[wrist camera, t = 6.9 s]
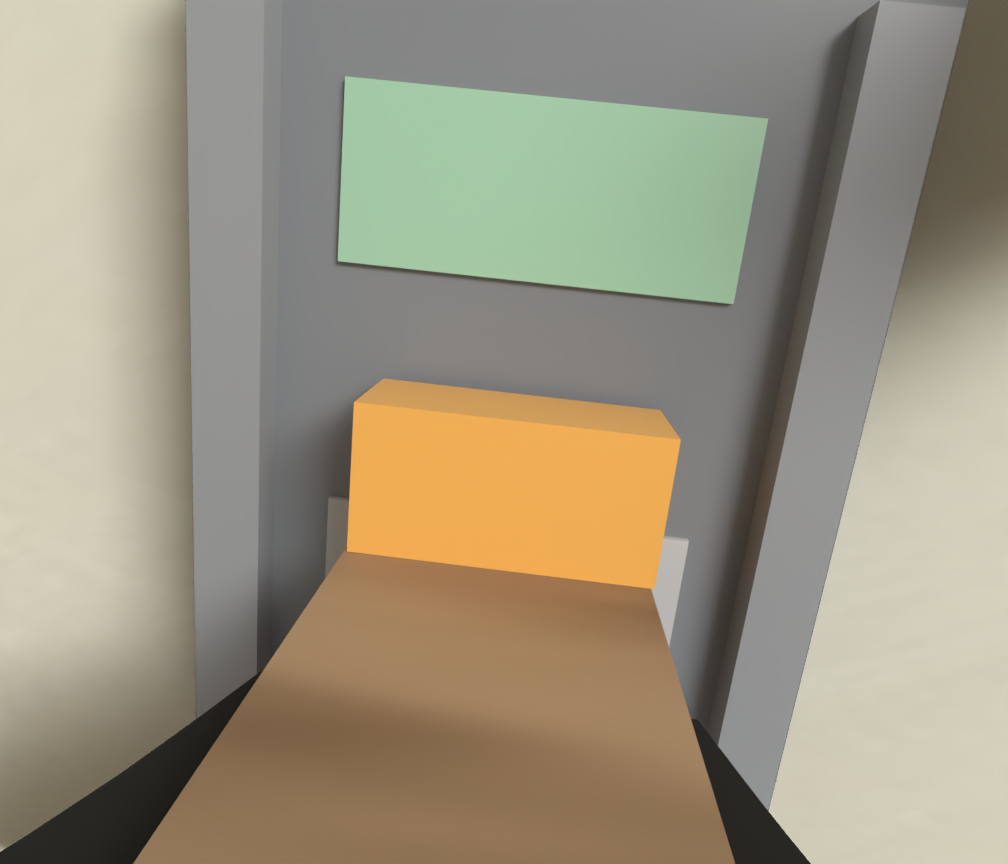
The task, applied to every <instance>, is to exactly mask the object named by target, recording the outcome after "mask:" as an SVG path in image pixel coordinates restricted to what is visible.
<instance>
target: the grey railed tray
mask: <svg viewBox="0 0 1008 864" xmlns="http://www.w3.org/2000/svg"><path fill="white" fill-rule="evenodd" d="M968 2H969V0H186V63H187V130H188V197H189V264H190V332H191V399H192V466H193V534H194V601H195V668H196V719H197V718H198V717H200V716H201V715H202V714H204V713H205V712H206V711H208V710H209V709H210V708H212V707H213V706H214V705H216V704H217V703H218V702H220V701H221V700H222V699H224V698H225V697H227V696H228V695H229V694H231V693H232V692H233V691H235V690H236V689H237V688H239V687H240V686H241V685H243V684H244V683H246V682H247V681H248V680H250V679H251V678H252V677H254V676H255V675H256V674H258V673H259V672H261V671H262V670H264V669H265V667H266V666H267V664H268V663H269V661H270V660H271V658H272V657H273V655H274V654H275V652H276V651H277V649H278V648H279V647H280V645H281V644H282V642H283V641H284V639H285V638H286V636H287V635H288V633H289V632H290V630H291V629H292V627H293V626H294V624H295V623H296V621H297V620H298V618H299V617H300V615H301V614H302V612H303V611H304V609H305V608H306V606H307V605H308V603H309V602H310V600H311V599H312V598H313V596H314V595H315V593H316V592H317V590H318V589H319V587H320V586H321V584H322V583H323V581H324V580H325V578H326V577H327V575H328V574H329V572H330V571H331V569H332V568H333V566H334V565H335V563H336V562H337V560H338V559H339V557H340V556H341V554H342V553H343V551H344V550H345V549H346V547H347V536H348V515H349V494H350V473H351V452H352V432H353V411H354V402H355V401H356V400H357V399H358V398H360V397H361V396H362V395H363V394H365V393H366V392H367V391H368V390H370V389H371V388H372V387H374V386H375V385H376V384H377V383H379V382H380V381H381V380H382V379H393V380H402V381H411V382H420V383H428V384H437V385H446V386H455V387H463V388H472V389H481V390H490V391H498V392H507V393H516V394H525V395H533V396H542V397H551V398H560V399H568V400H577V401H586V402H595V403H603V404H612V405H621V406H630V407H638V408H647V409H656V410H661V412H662V413H663V415H664V416H665V418H666V419H667V421H668V422H669V423H670V425H671V426H672V428H673V429H674V431H675V432H676V433H677V435H678V436H679V438H680V439H681V442H680V448H679V453H678V459H677V465H676V470H675V476H674V482H673V487H672V493H671V499H670V504H669V510H668V516H667V521H666V527H665V533H664V538H663V544H662V549H661V555H660V561H659V566H658V572H657V578H656V583H655V589H651V590H652V594H653V597H654V600H655V603H656V607H657V610H658V613H659V616H660V620H661V623H662V626H663V629H664V633H665V636H666V639H667V643H668V646H669V649H670V652H671V656H672V659H673V662H674V665H675V669H676V672H677V675H678V678H679V682H680V685H681V688H682V692H683V695H684V698H685V701H686V705H687V708H688V711H689V714H690V718H691V719H697V720H699V722H700V723H701V724H702V726H703V727H704V728H705V729H706V731H707V732H708V733H709V735H710V736H711V737H712V739H713V740H714V741H715V743H716V744H717V745H718V746H719V748H720V749H721V750H722V752H723V753H724V754H725V756H726V757H727V758H728V760H729V761H730V762H731V763H732V765H733V766H734V767H735V769H736V770H737V771H738V773H739V774H740V775H741V777H742V778H743V779H744V780H745V782H746V783H747V784H748V786H749V787H750V788H751V790H752V791H753V792H754V793H755V795H756V796H757V797H758V799H759V800H760V801H761V802H762V804H763V805H764V806H765V808H766V809H767V810H768V811H769V807H770V802H771V798H772V794H773V790H774V786H775V782H776V778H777V774H778V770H779V766H780V762H781V758H782V754H783V750H784V746H785V742H786V738H787V734H788V730H789V726H790V722H791V718H792V714H793V710H794V705H795V701H796V697H797V693H798V689H799V685H800V681H801V677H802V673H803V669H804V665H805V661H806V657H807V653H808V649H809V645H810V641H811V637H812V633H813V629H814V625H815V621H816V617H817V612H818V608H819V604H820V600H821V596H822V592H823V588H824V584H825V580H826V576H827V572H828V568H829V564H830V560H831V556H832V552H833V548H834V544H835V540H836V536H837V532H838V528H839V524H840V520H841V515H842V511H843V507H844V503H845V499H846V495H847V491H848V487H849V483H850V479H851V475H852V471H853V467H854V463H855V459H856V455H857V451H858V447H859V443H860V439H861V435H862V431H863V427H864V423H865V418H866V414H867V410H868V406H869V402H870V398H871V394H872V390H873V386H874V382H875V378H876V374H877V370H878V366H879V362H880V358H881V354H882V350H883V346H884V342H885V338H886V334H887V330H888V326H889V321H890V317H891V313H892V309H893V305H894V301H895V297H896V293H897V289H898V285H899V281H900V277H901V273H902V269H903V265H904V261H905V257H906V253H907V249H908V245H909V241H910V237H911V233H912V229H913V224H914V220H915V216H916V212H917V208H918V204H919V200H920V196H921V192H922V188H923V184H924V180H925V176H926V172H927V168H928V164H929V160H930V156H931V152H932V148H933V144H934V140H935V136H936V131H937V127H938V123H939V119H940V115H941V111H942V107H943V103H944V99H945V95H946V91H947V87H948V83H949V79H950V75H951V71H952V67H953V63H954V59H955V55H956V51H957V47H958V43H959V39H960V34H961V30H962V26H963V22H964V18H965V14H966V10H967V6H968Z"/></svg>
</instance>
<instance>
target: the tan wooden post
mask: <svg viewBox="0 0 1008 864" xmlns="http://www.w3.org/2000/svg"><path fill="white" fill-rule="evenodd" d="M133 864H735V861H734V858H733V855H732V852H731V848H730V845H729V842H728V839H727V835H726V832H725V829H724V826H723V822H722V819H721V816H720V812H719V809H718V806H717V803H716V799H715V796H714V793H713V790H712V786H711V783H710V780H709V776H708V773H707V770H706V767H705V763H704V760H703V757H702V754H701V750H700V747H699V744H698V741H697V737H696V734H695V731H694V727H693V724H692V721H691V718H690V714H689V711H688V708H687V705H686V701H685V698H684V695H683V692H682V688H681V685H680V682H679V678H678V675H677V672H676V669H675V665H674V662H673V659H672V656H671V652H670V649H669V646H668V643H667V639H666V636H665V633H664V629H663V626H662V623H661V620H660V616H659V613H658V610H657V607H656V603H655V600H654V597H653V594H652V590H651V589H649V588H641V587H633V586H624V585H616V584H608V583H600V582H592V581H584V580H575V579H567V578H559V577H551V576H543V575H535V574H526V573H518V572H510V571H502V570H494V569H486V568H477V567H469V566H461V565H453V564H445V563H437V562H428V561H420V560H412V559H404V558H396V557H388V556H379V555H371V554H363V553H355V552H347V547H346V549H345V550H344V551H343V553H342V554H341V556H340V557H339V559H338V560H337V562H336V563H335V565H334V566H333V568H332V569H331V571H330V572H329V574H328V575H327V577H326V578H325V580H324V581H323V583H322V584H321V586H320V587H319V589H318V590H317V592H316V593H315V595H314V596H313V598H312V599H311V600H310V602H309V603H308V605H307V606H306V608H305V609H304V611H303V612H302V614H301V615H300V617H299V618H298V620H297V621H296V623H295V624H294V626H293V627H292V629H291V630H290V632H289V633H288V635H287V636H286V638H285V639H284V641H283V642H282V644H281V645H280V647H279V648H278V649H277V651H276V652H275V654H274V655H273V657H272V658H271V660H270V661H269V663H268V664H267V666H266V667H265V669H264V670H263V672H262V673H261V675H260V676H259V678H258V679H257V681H256V682H255V684H254V685H253V687H252V688H251V690H250V691H249V693H248V694H247V696H246V697H245V698H244V700H243V701H242V703H241V704H240V706H239V707H238V709H237V710H236V712H235V713H234V715H233V716H232V718H231V719H230V721H229V722H228V724H227V725H226V727H225V728H224V730H223V731H222V733H221V734H220V736H219V737H218V739H217V740H216V742H215V743H214V745H213V746H212V747H211V749H210V750H209V752H208V753H207V755H206V756H205V758H204V759H203V761H202V762H201V764H200V765H199V767H198V768H197V770H196V771H195V773H194V774H193V776H192V777H191V779H190V780H189V782H188V783H187V785H186V786H185V788H184V789H183V791H182V792H181V794H180V795H179V796H178V798H177V799H176V801H175V802H174V804H173V805H172V807H171V808H170V810H169V811H168V813H167V814H166V816H165V817H164V819H163V820H162V822H161V823H160V825H159V826H158V828H157V829H156V831H155V832H154V834H153V835H152V837H151V838H150V840H149V841H148V842H147V844H146V845H145V847H144V848H143V850H142V851H141V853H140V854H139V856H138V857H137V859H136V860H135V862H134V863H133Z"/></svg>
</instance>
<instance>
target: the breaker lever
mask: <svg viewBox="0 0 1008 864" xmlns="http://www.w3.org/2000/svg"><path fill="white" fill-rule="evenodd" d="M680 442H681V439H680V438H679V436H678V435H677V433H676V432H675V431H674V429H673V428H672V426H671V425H670V423H669V422H668V421H667V419H666V418H665V416H664V415H663V413H662V412H661V410H656V409H647V408H638V407H630V406H621V405H612V404H603V403H595V402H586V401H577V400H568V399H560V398H551V397H542V396H533V395H525V394H516V393H507V392H498V391H490V390H481V389H472V388H463V387H455V386H446V385H437V384H428V383H420V382H411V381H402V380H393V379H382V380H381V381H380V382H379V383H377V384H376V385H375V386H374V387H372V388H371V389H370V390H368V391H367V392H366V393H365V394H363V395H362V396H361V397H360V398H358V399H357V400H356V401H355V402H354V411H353V432H352V452H351V473H350V494H349V515H348V536H347V552H355V553H363V554H371V555H379V556H388V557H396V558H404V559H412V560H420V561H428V562H437V563H445V564H453V565H461V566H469V567H477V568H486V569H494V570H502V571H510V572H518V573H526V574H535V575H543V576H551V577H559V578H567V579H575V580H584V581H592V582H600V583H608V584H616V585H624V586H633V587H641V588H649V589H655V583H656V578H657V572H658V566H659V561H660V555H661V549H662V544H663V538H664V533H665V527H666V521H667V516H668V510H669V504H670V499H671V493H672V487H673V482H674V476H675V470H676V465H677V459H678V453H679V448H680Z"/></svg>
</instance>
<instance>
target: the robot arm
mask: <svg viewBox="0 0 1008 864" xmlns="http://www.w3.org/2000/svg"><path fill="white" fill-rule="evenodd" d="M262 672H263V670H262V671H261V672H259V673H258V674H256V675H255V676H254V677H252V678H251V679H250V680H248V681H247V682H246V683H244V684H243V685H241V686H240V687H239V688H237V689H236V690H235V691H233V692H232V693H231V694H229V695H228V696H227V697H225V698H224V699H222V700H221V701H220V702H218V703H217V704H216V705H214V706H213V707H212V708H210V709H209V710H208V711H206V712H205V713H204V714H202V715H201V716H200V717H198V718H197V719H196V720H194V721H193V722H191V723H190V724H189V725H187V726H186V727H185V728H183V729H182V730H181V731H179V732H178V733H177V734H175V735H174V736H172V737H171V738H170V739H168V740H167V741H165V742H164V743H163V744H161V745H160V746H158V747H157V748H156V749H154V750H153V751H151V752H150V753H149V754H147V755H146V756H144V757H143V758H142V759H140V760H139V761H137V762H136V763H135V764H133V765H132V766H130V767H129V768H128V769H126V770H125V771H123V772H122V773H121V774H119V775H118V776H116V777H115V778H113V779H112V780H110V781H109V782H107V783H106V784H104V785H103V786H101V787H100V788H98V789H97V790H95V791H94V792H92V793H91V794H89V795H88V796H86V797H85V798H83V799H81V800H80V801H78V802H77V803H75V804H74V805H72V806H71V807H69V808H68V809H66V810H65V811H63V812H62V813H60V814H59V815H57V816H56V817H54V818H53V819H51V820H50V821H48V822H47V823H45V824H44V825H42V826H41V827H39V828H37V829H36V830H34V831H33V832H31V833H30V834H28V835H27V836H25V837H24V838H22V839H21V840H19V841H17V842H16V843H14V844H13V845H11V846H9V847H8V848H6V849H4V850H3V851H1V852H0V864H133V863H134V862H135V860H136V859H137V857H138V856H139V854H140V853H141V851H142V850H143V848H144V847H145V845H146V844H147V842H148V841H149V840H150V838H151V837H152V835H153V834H154V832H155V831H156V829H157V828H158V826H159V825H160V823H161V822H162V820H163V819H164V817H165V816H166V814H167V813H168V811H169V810H170V808H171V807H172V805H173V804H174V802H175V801H176V799H177V798H178V796H179V795H180V794H181V792H182V791H183V789H184V788H185V786H186V785H187V783H188V782H189V780H190V779H191V777H192V776H193V774H194V773H195V771H196V770H197V768H198V767H199V765H200V764H201V762H202V761H203V759H204V758H205V756H206V755H207V753H208V752H209V750H210V749H211V747H212V746H213V745H214V743H215V742H216V740H217V739H218V737H219V736H220V734H221V733H222V731H223V730H224V728H225V727H226V725H227V724H228V722H229V721H230V719H231V718H232V716H233V715H234V713H235V712H236V710H237V709H238V707H239V706H240V704H241V703H242V701H243V700H244V698H245V697H246V696H247V694H248V693H249V691H250V690H251V688H252V687H253V685H254V684H255V682H256V681H257V679H258V678H259V676H260V675H261V673H262ZM691 721H692V724H693V727H694V731H695V734H696V737H697V741H698V744H699V747H700V750H701V754H702V757H703V760H704V763H705V767H706V770H707V773H708V776H709V780H710V783H711V786H712V790H713V793H714V796H715V799H716V803H717V806H718V809H719V812H720V816H721V819H722V822H723V826H724V829H725V832H726V835H727V839H728V842H729V845H730V848H731V852H732V855H733V858H734V861H735V864H811V863H810V862H809V861H808V860H807V859H806V857H805V856H804V855H803V854H802V853H801V851H800V850H799V849H798V848H797V846H796V845H795V844H794V843H793V842H792V840H791V839H790V838H789V837H788V835H787V834H786V833H785V832H784V830H783V829H782V828H781V827H780V825H779V824H778V823H777V822H776V820H775V819H774V818H773V817H772V815H771V814H770V813H769V812H768V810H767V809H766V808H765V806H764V805H763V804H762V802H761V801H760V800H759V799H758V797H757V796H756V795H755V793H754V792H753V791H752V790H751V788H750V787H749V786H748V784H747V783H746V782H745V780H744V779H743V778H742V777H741V775H740V774H739V773H738V771H737V770H736V769H735V767H734V766H733V765H732V763H731V762H730V761H729V760H728V758H727V757H726V756H725V754H724V753H723V752H722V750H721V749H720V748H719V746H718V745H717V744H716V743H715V741H714V740H713V739H712V737H711V736H710V735H709V733H708V732H707V731H706V729H705V728H704V727H703V726H702V724H701V723H700V722H699V720H697V719H691Z"/></svg>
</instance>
